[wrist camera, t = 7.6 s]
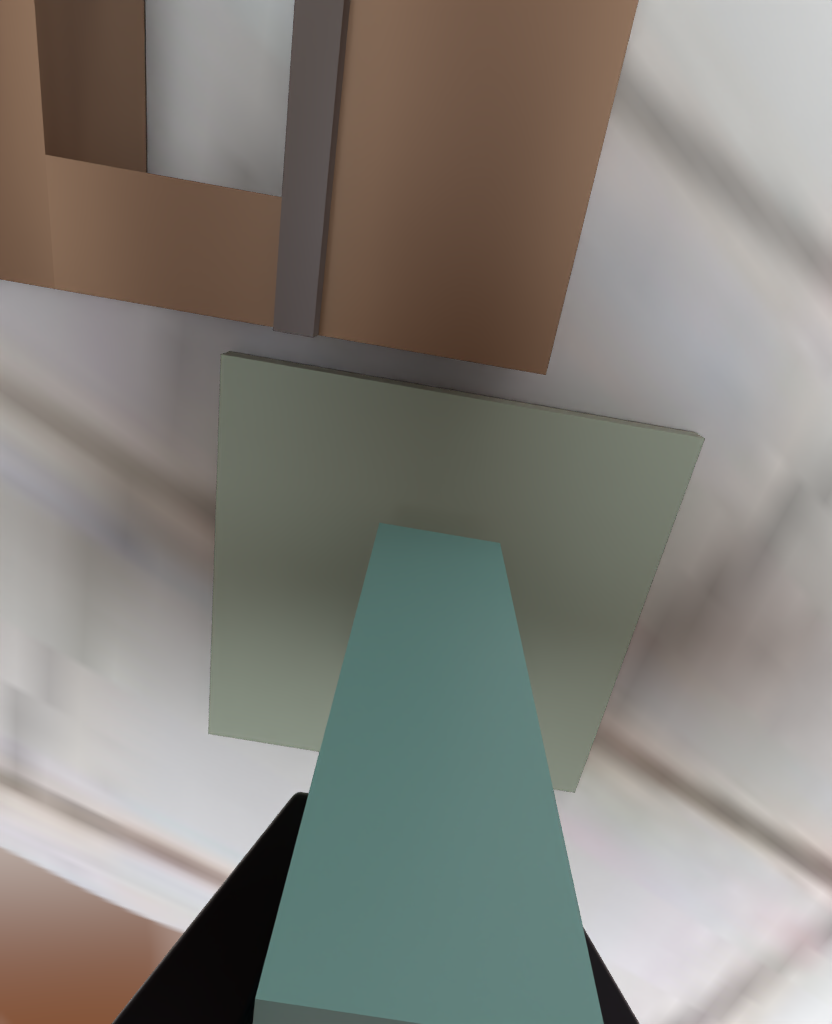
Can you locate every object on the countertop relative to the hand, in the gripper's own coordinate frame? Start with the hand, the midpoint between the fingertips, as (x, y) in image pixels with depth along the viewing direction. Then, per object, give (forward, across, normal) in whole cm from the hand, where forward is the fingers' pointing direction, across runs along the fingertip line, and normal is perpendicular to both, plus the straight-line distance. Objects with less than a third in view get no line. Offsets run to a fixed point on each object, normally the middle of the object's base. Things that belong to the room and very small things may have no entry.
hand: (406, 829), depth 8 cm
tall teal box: (+4, 0, 0) cm, 4 cm away
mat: (+6, 0, 0) cm, 7 cm away
